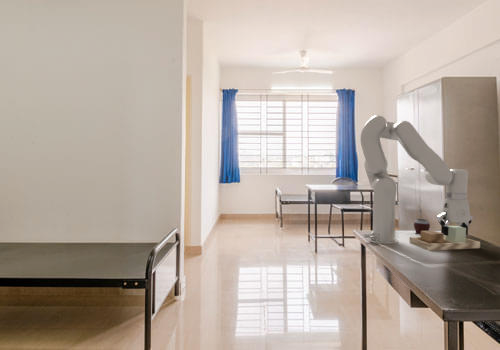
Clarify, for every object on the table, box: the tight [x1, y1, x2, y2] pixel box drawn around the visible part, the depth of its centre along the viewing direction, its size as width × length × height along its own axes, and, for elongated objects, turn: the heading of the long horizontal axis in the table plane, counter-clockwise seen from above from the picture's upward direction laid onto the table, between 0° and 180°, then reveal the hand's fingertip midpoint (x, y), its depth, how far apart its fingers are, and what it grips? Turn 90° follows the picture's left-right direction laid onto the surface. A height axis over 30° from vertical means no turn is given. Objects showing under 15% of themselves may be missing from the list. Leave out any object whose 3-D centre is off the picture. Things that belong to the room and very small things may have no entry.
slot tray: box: [409, 235, 481, 251], centre depth 124 cm, size 24×12×4 cm, turn 98°
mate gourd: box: [413, 204, 431, 235], centre depth 146 cm, size 8×8×15 cm
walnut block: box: [420, 230, 445, 244], centre depth 123 cm, size 6×6×6 cm
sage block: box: [445, 225, 467, 243], centre depth 124 cm, size 5×5×8 cm
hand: (454, 234), depth 124 cm, fingers open, 9 cm apart
